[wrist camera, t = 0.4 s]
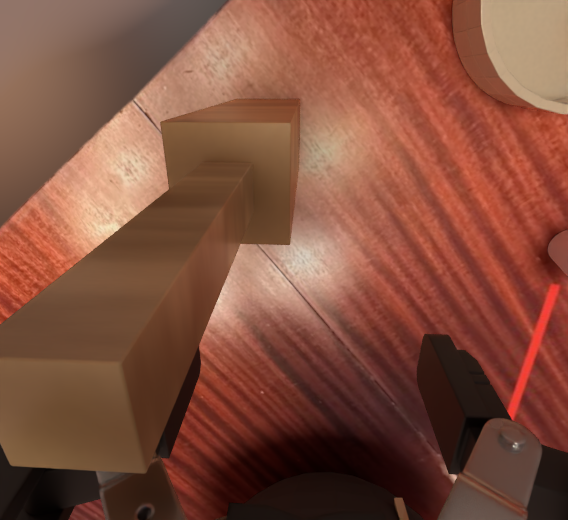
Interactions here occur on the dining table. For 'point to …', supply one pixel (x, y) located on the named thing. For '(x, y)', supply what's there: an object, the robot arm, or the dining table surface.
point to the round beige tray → (515, 50)
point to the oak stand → (244, 155)
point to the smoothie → (560, 250)
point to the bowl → (332, 496)
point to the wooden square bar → (121, 330)
